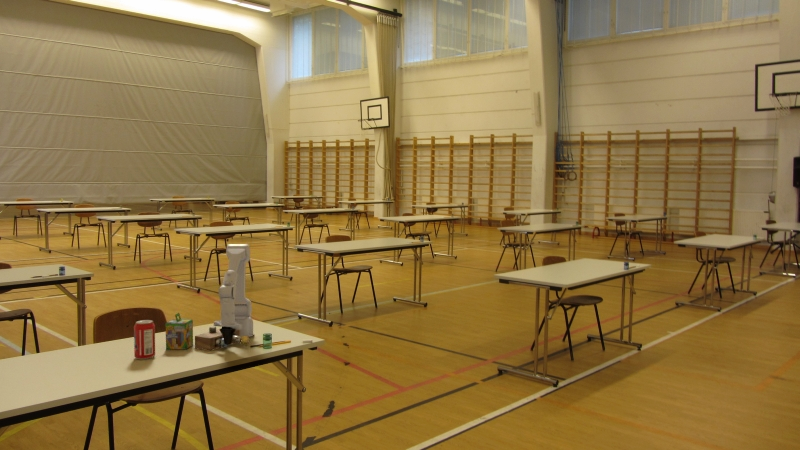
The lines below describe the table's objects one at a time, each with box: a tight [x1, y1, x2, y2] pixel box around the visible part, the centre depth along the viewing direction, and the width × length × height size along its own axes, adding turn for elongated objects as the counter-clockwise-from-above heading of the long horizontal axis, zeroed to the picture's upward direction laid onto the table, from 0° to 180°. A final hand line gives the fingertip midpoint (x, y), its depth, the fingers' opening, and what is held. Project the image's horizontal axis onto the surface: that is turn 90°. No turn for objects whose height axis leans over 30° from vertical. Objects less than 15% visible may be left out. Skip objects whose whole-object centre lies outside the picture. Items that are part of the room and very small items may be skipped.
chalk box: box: [164, 312, 194, 350], centre depth 266 cm, size 9×9×15 cm
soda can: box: [133, 319, 156, 361], centre depth 248 cm, size 8×8×15 cm
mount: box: [194, 328, 240, 351], centre depth 270 cm, size 18×9×5 cm, turn 152°
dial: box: [208, 326, 217, 333], centre depth 271 cm, size 3×3×2 cm
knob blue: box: [215, 338, 229, 349], centre depth 265 cm, size 4×11×4 cm, turn 62°
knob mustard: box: [231, 335, 250, 346], centre depth 270 cm, size 4×11×4 cm, turn 62°
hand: (227, 344), depth 262 cm, fingers closed
